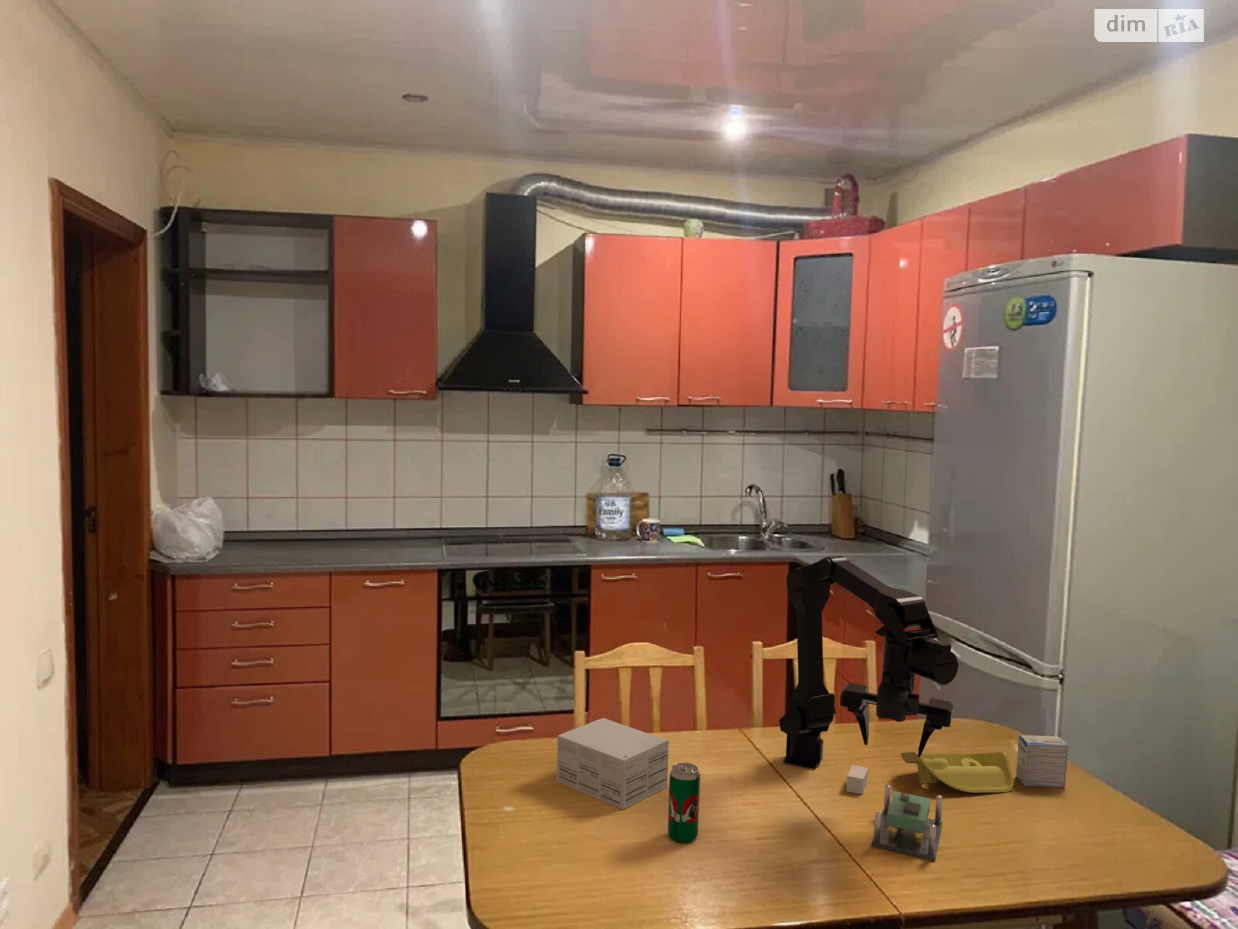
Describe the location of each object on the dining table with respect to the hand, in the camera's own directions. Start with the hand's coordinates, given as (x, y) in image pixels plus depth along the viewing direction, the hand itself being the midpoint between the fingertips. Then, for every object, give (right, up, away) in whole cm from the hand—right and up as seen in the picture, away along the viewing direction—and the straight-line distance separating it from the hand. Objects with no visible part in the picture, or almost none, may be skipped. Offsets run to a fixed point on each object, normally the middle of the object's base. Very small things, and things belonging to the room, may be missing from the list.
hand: (892, 750), depth 162 cm
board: (0, -9, -8) cm, 12 cm away
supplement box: (-50, -10, +9) cm, 52 cm away
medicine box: (+33, -11, +15) cm, 38 cm away
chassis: (0, -12, -8) cm, 14 cm away
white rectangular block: (-4, -10, +10) cm, 15 cm away
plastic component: (+16, -11, +15) cm, 24 cm away
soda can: (-38, -12, -10) cm, 41 cm away
